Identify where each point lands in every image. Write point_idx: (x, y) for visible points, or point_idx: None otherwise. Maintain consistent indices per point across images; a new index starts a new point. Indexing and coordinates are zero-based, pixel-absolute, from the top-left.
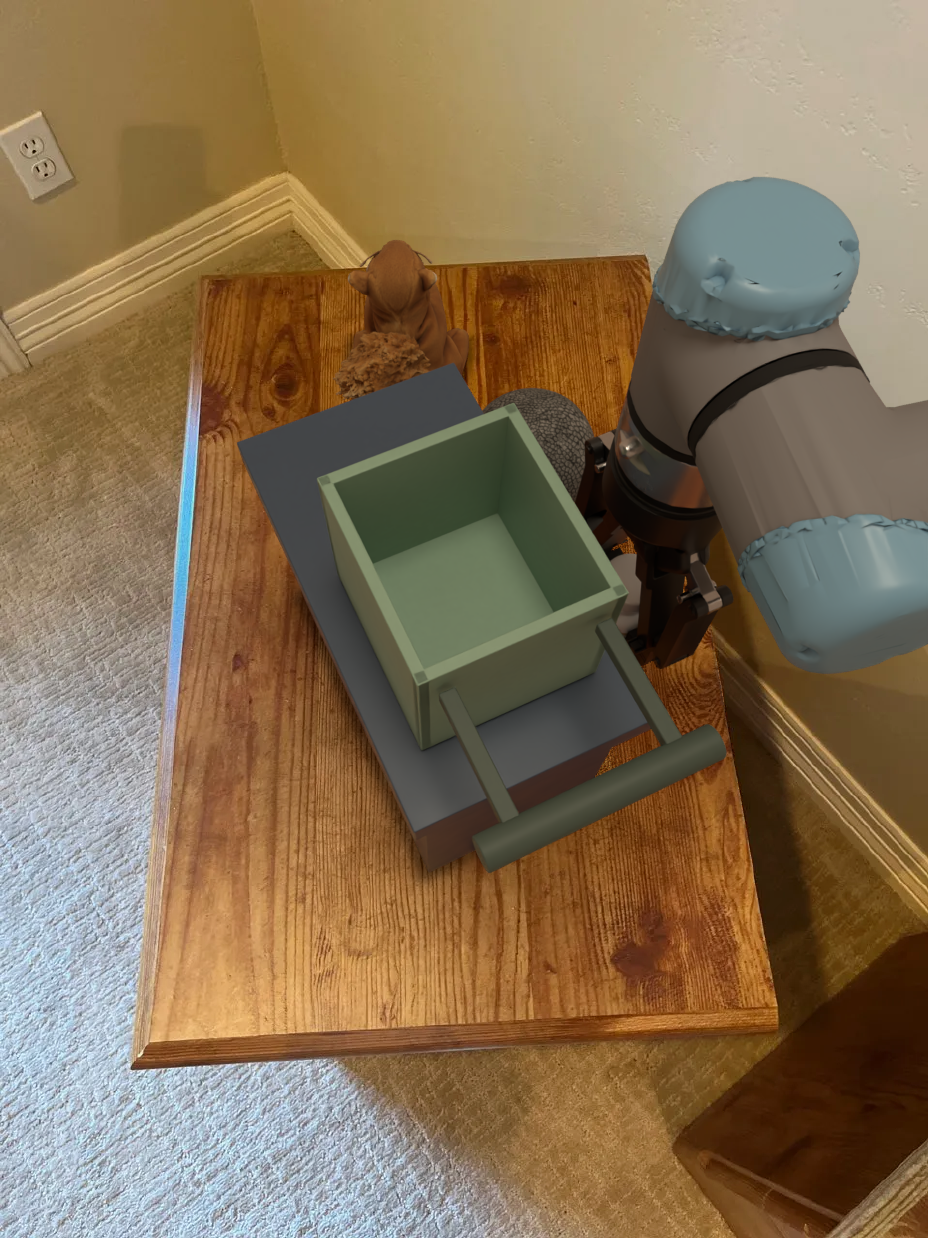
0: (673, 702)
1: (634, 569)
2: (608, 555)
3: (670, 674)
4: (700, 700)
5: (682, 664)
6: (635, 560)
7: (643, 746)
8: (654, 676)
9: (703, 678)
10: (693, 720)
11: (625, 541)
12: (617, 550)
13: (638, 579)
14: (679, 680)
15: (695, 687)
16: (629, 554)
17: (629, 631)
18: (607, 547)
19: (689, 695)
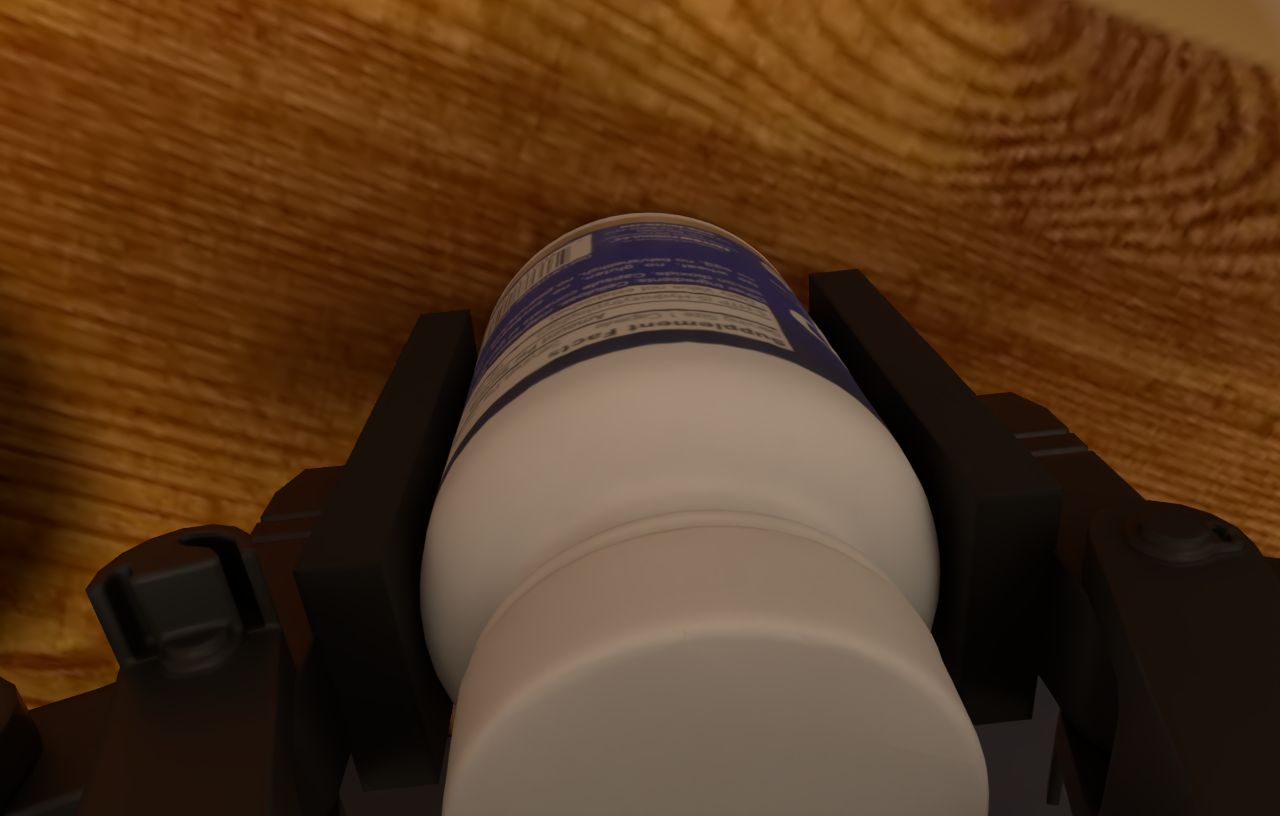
0: (1055, 214)
1: (635, 808)
2: (349, 660)
3: (935, 168)
4: (1117, 84)
5: (919, 86)
6: (544, 773)
7: (1140, 408)
8: (908, 245)
9: (1034, 13)
10: (1175, 163)
11: (257, 571)
12: (318, 592)
13: (746, 807)
14: (981, 139)
15: (1051, 78)
16: (461, 795)
17: None
18: (298, 743)
19: (1068, 126)
